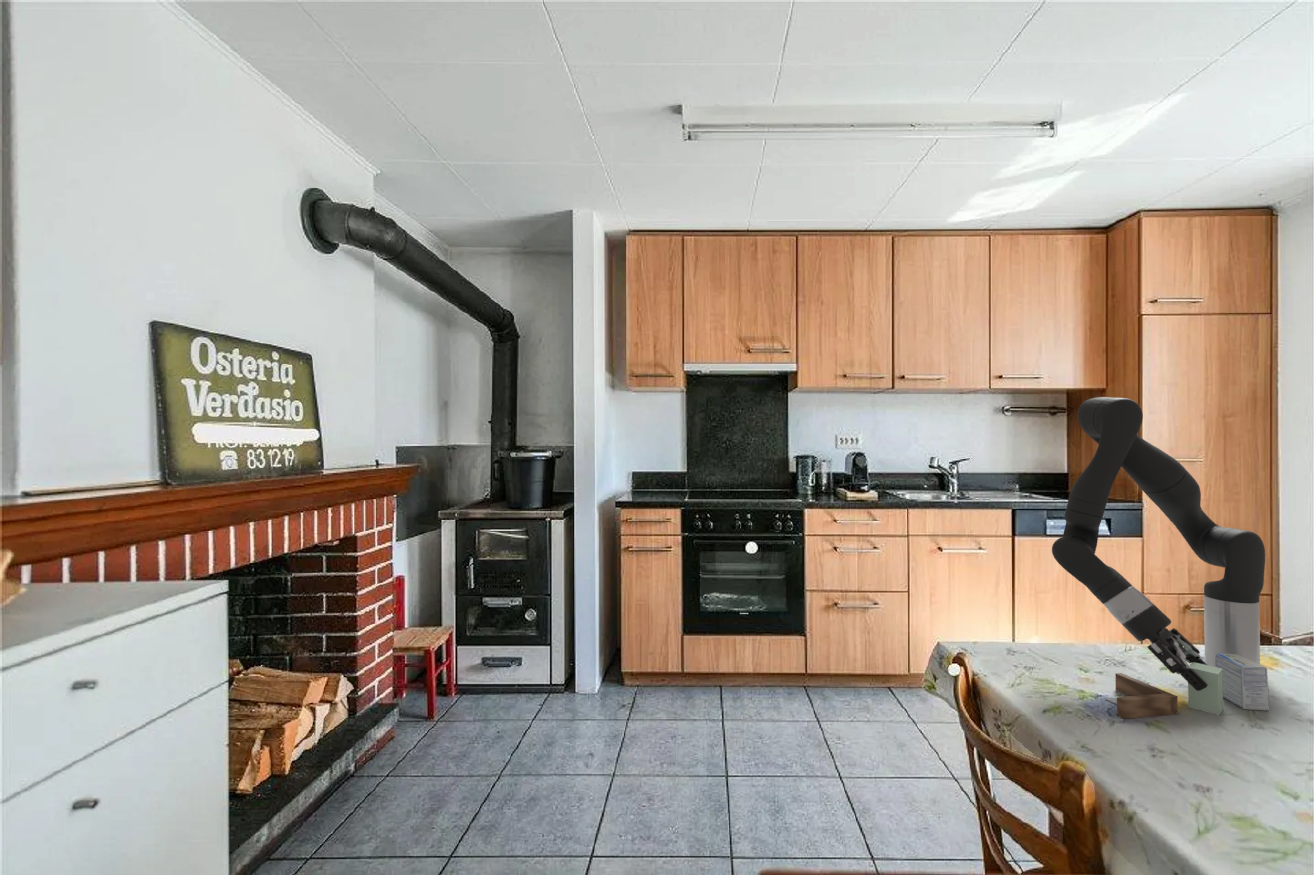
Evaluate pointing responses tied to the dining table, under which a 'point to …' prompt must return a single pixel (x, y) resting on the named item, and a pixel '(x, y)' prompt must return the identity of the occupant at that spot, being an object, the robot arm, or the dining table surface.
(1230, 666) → the medicine box
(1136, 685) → the walnut corner
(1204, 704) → the sage block
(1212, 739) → the dining table surface
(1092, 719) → the dining table surface
